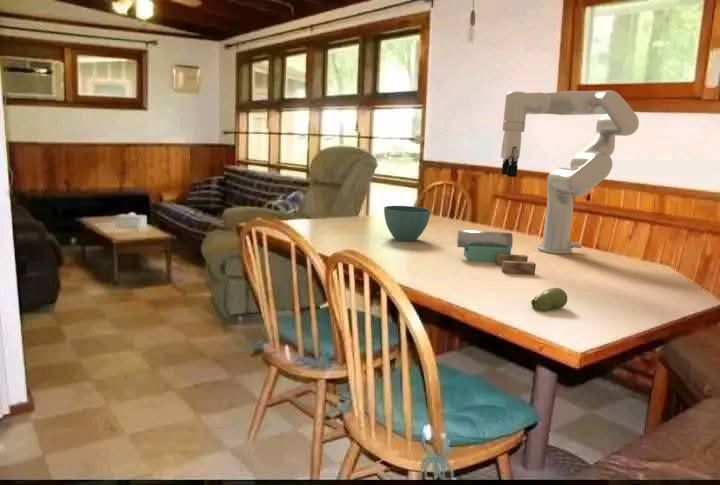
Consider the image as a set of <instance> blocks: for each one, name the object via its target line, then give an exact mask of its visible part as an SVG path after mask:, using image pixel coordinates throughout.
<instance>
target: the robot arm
mask: <svg viewBox="0 0 720 485" xmlns="http://www.w3.org/2000/svg"><path fill="white" fill-rule="evenodd" d="M503 112H504V114H503V122H502V123H503V124H502V132H504V133H503V137H502V145H501V152H500V158H501V159H503V160H502V166H501V175H507V177H510V178H517V175H518V165H519V159H520V154H521V144H522V133H524V132H525V129H526V128H525V127H526V126H525V125H526V119H527V115H542V114H543V115H556V116H557V115H558V116H576V115H577V116H578V115H579V116H582V115H585V116H586V115H600V116H599V117H598V119H597V121H596V129H595V130H596V132H595V136H594V139H593V140H592V141H591V142H590V143H589V144H588V145H587V146H585V147H584V148H583V149H582V150H580V151H579V152H578V153H577V154H575V156H574V157H572V159H571V161H570V164H569V166H570V167H569V168H567V167H558V168H557V167H556V168H555V169H553V170H551V171H550V173H549V174H548V175H547V178H546V191H547V201H546V208H545V217H544V228H543V237H542V244H538V245H537V250H538V251H541V252H543V253H544V252H545V253H548V254H549V253H550V254H557V255H559V254H560V255H569V254H572V253H573V248H575V249H577V248H578V249H581V248H583V244H582V243H581V242H575V241H572V240H570V236H571V226H572V220H573V219H572V218H573V211H574V200H573V197H583V196H584V195H587V193H589V192H590V191H592V190H593V189H594V188H595V187H596V186H598V185H599V184H600V183H601V182H602V181H604V180H605V179H606V178H607V177H608V176H609V175H610V173H611V171H612V168H613V160H612V157H611V156H612V154H614V151H615V147H616V146H615V144H616V136H623V137H624V136H627V137H628V136H631V135H633V134H634V133H636V132H637V130H638V128H639V125H640V121H639V117H638V115H637V114H636V113H635V111H634V110H633V109H632V107H631V106H630V105H629V103H628V102H627V101H626V100H625V99H624V98H623V97H622V96H621V95H620V94H619V93H618V92H617V91H615V90H607V89H606V90H565V91H556V92H545V93H544V92H540V91H539V92H525V91H515V90H514V91H508V92H507V93H506V95H505V104H504V111H503Z"/></svg>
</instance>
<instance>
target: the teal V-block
mask: <svg viewBox="0 0 720 485" xmlns="http://www.w3.org/2000/svg"><path fill="white" fill-rule="evenodd" d="M511 252H512V248H511V249H510V248H508V247H491V246H474V245H468V248H463V256H464V257H465V259H466V261H467V262H472V263H473V262H474V263H490V264H495V261H496V254H512V253H511Z"/></svg>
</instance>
